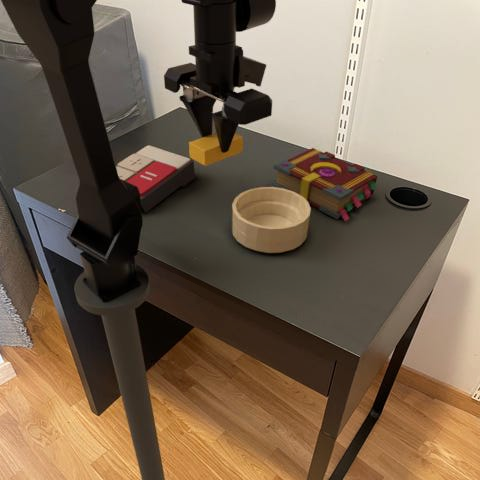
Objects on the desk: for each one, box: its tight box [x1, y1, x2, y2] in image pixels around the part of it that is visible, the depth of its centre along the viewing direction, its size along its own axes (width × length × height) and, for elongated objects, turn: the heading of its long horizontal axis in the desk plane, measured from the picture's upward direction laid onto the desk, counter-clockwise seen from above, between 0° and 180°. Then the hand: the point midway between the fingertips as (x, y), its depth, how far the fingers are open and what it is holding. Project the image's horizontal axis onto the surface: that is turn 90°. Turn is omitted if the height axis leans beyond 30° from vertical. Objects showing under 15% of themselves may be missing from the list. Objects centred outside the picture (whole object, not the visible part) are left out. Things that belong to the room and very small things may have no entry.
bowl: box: [231, 186, 312, 254], centre depth 77 cm, size 12×12×5 cm
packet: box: [188, 132, 244, 167], centre depth 78 cm, size 8×4×2 cm, turn 132°
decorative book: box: [271, 147, 378, 222], centre depth 86 cm, size 11×16×5 cm
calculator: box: [116, 144, 196, 214], centre depth 87 cm, size 11×4×15 cm
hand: (216, 147), depth 78 cm, fingers closed on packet, 4 cm apart
